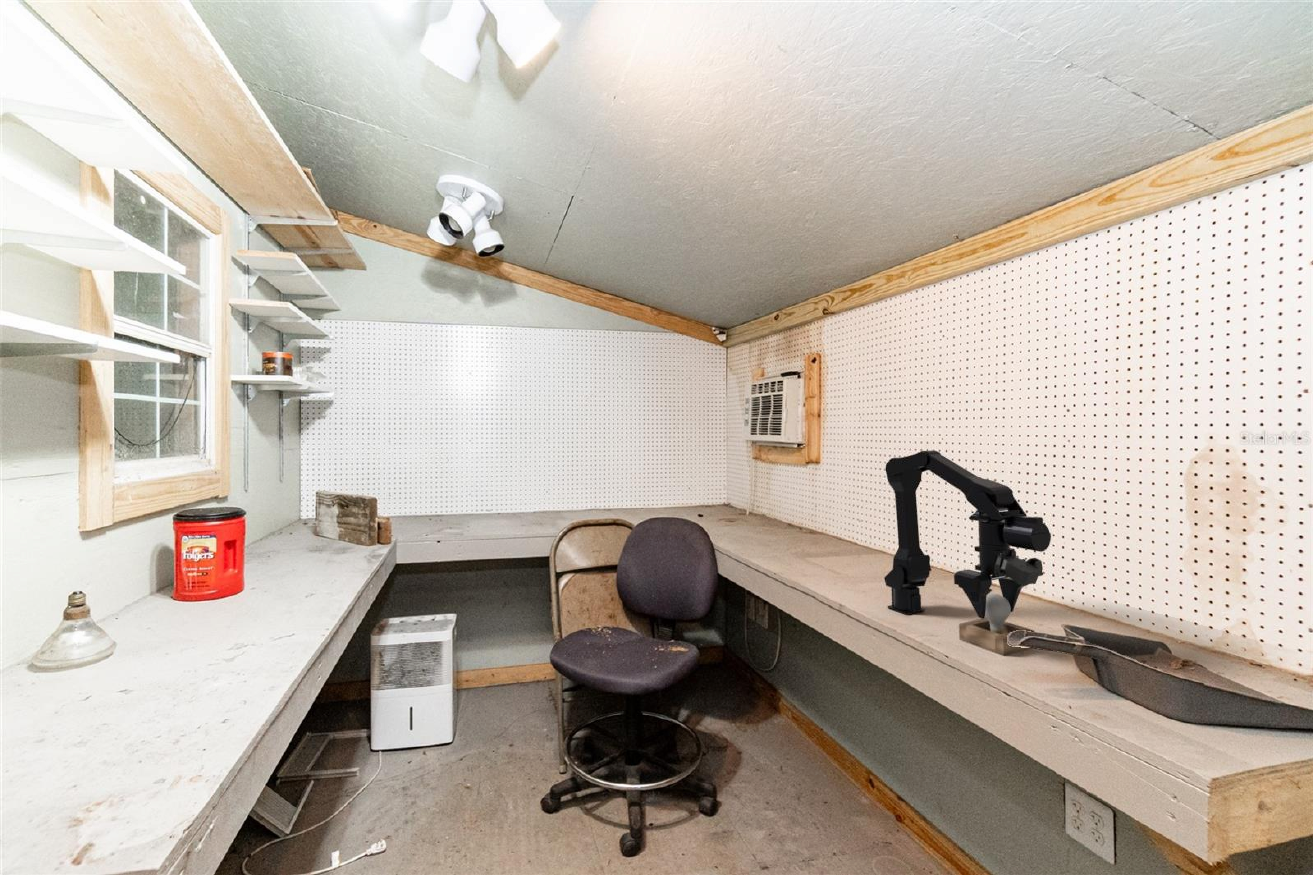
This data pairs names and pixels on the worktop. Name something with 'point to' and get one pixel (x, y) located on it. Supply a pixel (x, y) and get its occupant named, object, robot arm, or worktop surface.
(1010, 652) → the socket block
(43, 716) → the worktop surface
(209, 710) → the worktop surface
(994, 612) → the light bulb
